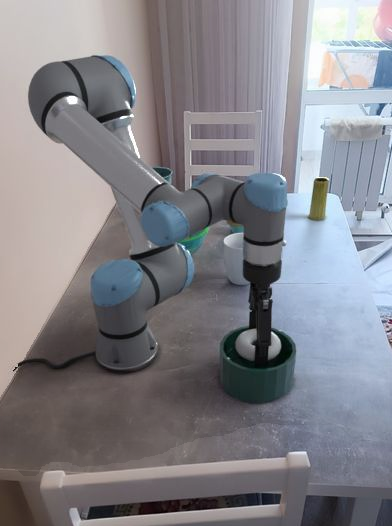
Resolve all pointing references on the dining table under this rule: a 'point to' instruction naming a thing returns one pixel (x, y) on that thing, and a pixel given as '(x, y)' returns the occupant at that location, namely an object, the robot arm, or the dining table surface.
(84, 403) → the dining table surface
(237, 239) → the mug
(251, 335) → the donut
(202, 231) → the bowl
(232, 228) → the cupcake
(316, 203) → the vase
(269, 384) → the pot
